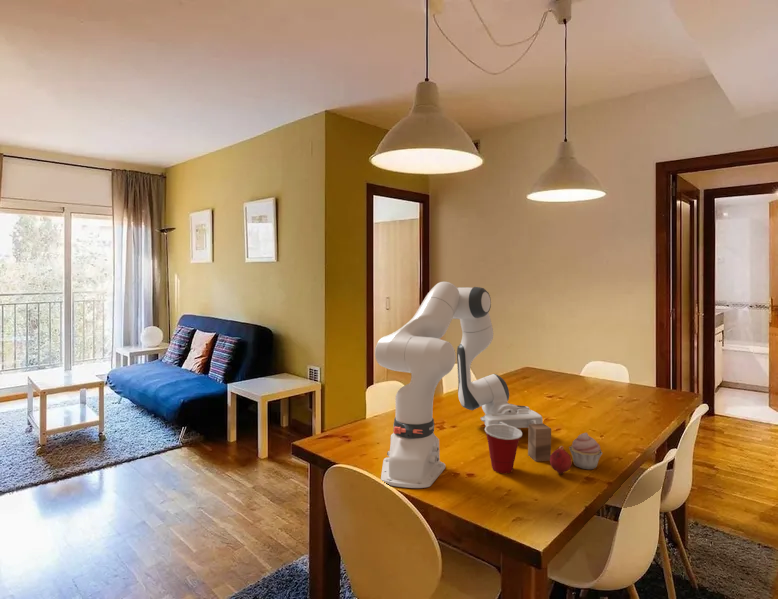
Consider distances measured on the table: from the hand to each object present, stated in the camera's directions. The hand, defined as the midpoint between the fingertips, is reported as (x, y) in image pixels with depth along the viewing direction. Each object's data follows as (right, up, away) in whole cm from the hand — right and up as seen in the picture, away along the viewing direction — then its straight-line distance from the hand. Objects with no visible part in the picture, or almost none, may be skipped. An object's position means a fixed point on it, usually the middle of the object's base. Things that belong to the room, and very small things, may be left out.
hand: (522, 427), depth 158 cm
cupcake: (+14, -7, -18) cm, 23 cm away
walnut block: (+2, -6, -12) cm, 13 cm away
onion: (+4, -7, -24) cm, 25 cm away
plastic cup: (-12, -7, -21) cm, 25 cm away
